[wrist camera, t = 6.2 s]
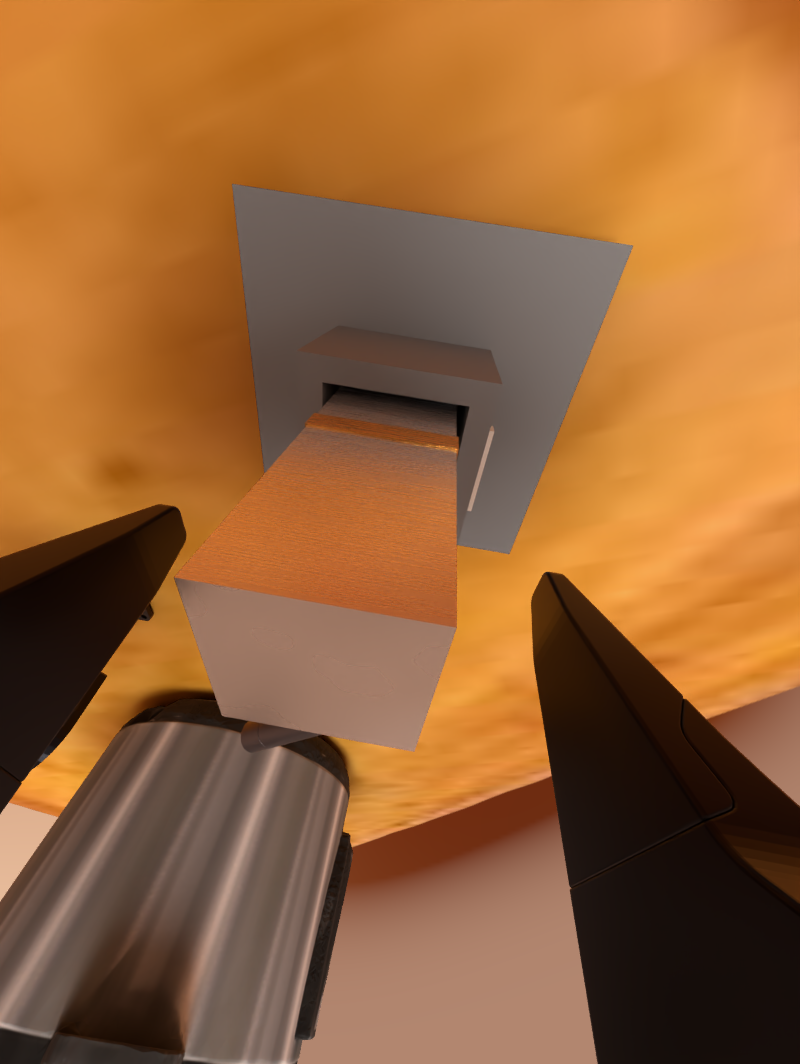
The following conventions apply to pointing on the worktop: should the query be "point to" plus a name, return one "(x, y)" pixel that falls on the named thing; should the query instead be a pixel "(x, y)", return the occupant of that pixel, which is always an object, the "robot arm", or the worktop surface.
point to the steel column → (337, 575)
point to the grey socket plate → (424, 331)
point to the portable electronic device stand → (269, 736)
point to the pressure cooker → (179, 901)
